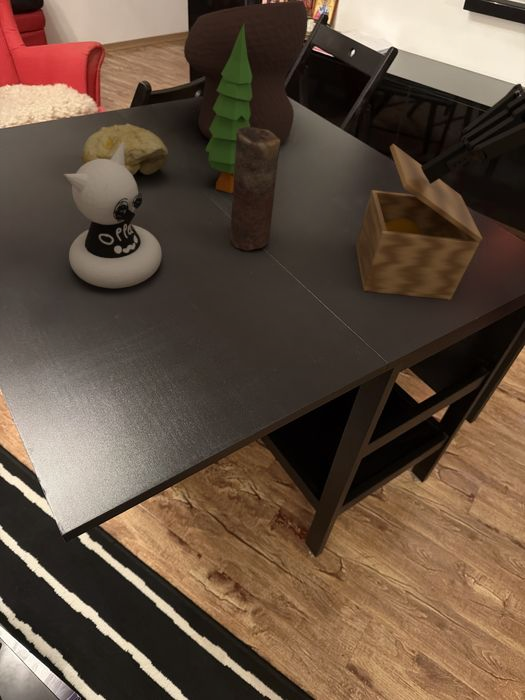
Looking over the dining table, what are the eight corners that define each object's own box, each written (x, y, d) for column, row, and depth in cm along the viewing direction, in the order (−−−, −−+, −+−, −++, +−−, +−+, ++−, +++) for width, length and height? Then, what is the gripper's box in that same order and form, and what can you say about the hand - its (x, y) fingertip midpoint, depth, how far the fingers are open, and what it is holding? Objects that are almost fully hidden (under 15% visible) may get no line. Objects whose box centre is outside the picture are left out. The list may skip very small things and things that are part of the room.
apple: (384, 204, 82) (434, 216, 82) (370, 224, 90) (414, 236, 91) (375, 250, 80) (425, 263, 81) (361, 266, 89) (406, 278, 89)
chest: (363, 291, 83) (382, 233, 75) (355, 246, 93) (371, 189, 84) (450, 299, 84) (479, 243, 75) (434, 254, 93) (458, 199, 85)
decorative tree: (257, 189, 104) (274, 27, 82) (225, 202, 99) (233, 33, 77) (227, 171, 108) (236, 13, 86) (195, 182, 103) (195, 17, 81)
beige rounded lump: (107, 166, 109) (69, 181, 97) (106, 114, 103) (65, 123, 91) (176, 182, 107) (147, 199, 95) (179, 130, 101) (148, 142, 89)
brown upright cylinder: (231, 227, 93) (238, 121, 78) (269, 231, 93) (282, 126, 78) (228, 250, 87) (234, 141, 73) (268, 254, 88) (282, 146, 73)
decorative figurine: (108, 307, 74) (87, 187, 59) (53, 264, 80) (22, 145, 65) (180, 268, 82) (177, 154, 68) (125, 231, 88) (112, 119, 74)
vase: (299, 121, 132) (319, -13, 110) (279, 163, 113) (299, 11, 92) (205, 102, 134) (207, -32, 112) (171, 140, 116) (165, -12, 94)
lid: (403, 188, 69) (407, 184, 69) (389, 147, 79) (393, 143, 78) (478, 242, 75) (482, 239, 75) (457, 198, 85) (461, 195, 84)
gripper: (564, 32, 66) (407, 138, 77) (607, 62, 57) (422, 177, 68) (579, 78, 70) (427, 173, 81) (621, 113, 61) (444, 214, 72)
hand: (425, 175), depth 75 cm, fingers closed
